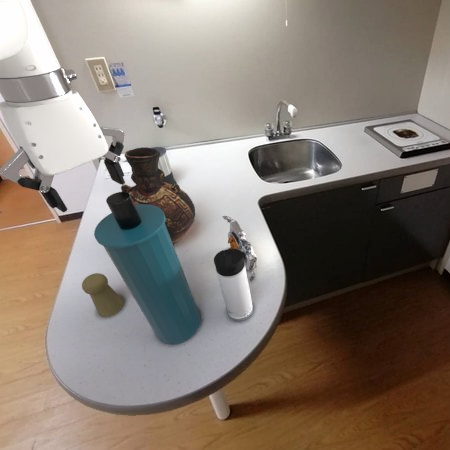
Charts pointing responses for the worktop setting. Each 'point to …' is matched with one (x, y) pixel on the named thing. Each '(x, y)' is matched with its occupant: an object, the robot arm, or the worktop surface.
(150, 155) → the ceramic vessel
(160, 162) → the milk frother
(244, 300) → the travel mug
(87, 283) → the cork
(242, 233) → the meal
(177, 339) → the teal faceted tube
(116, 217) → the lid
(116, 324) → the worktop surface
